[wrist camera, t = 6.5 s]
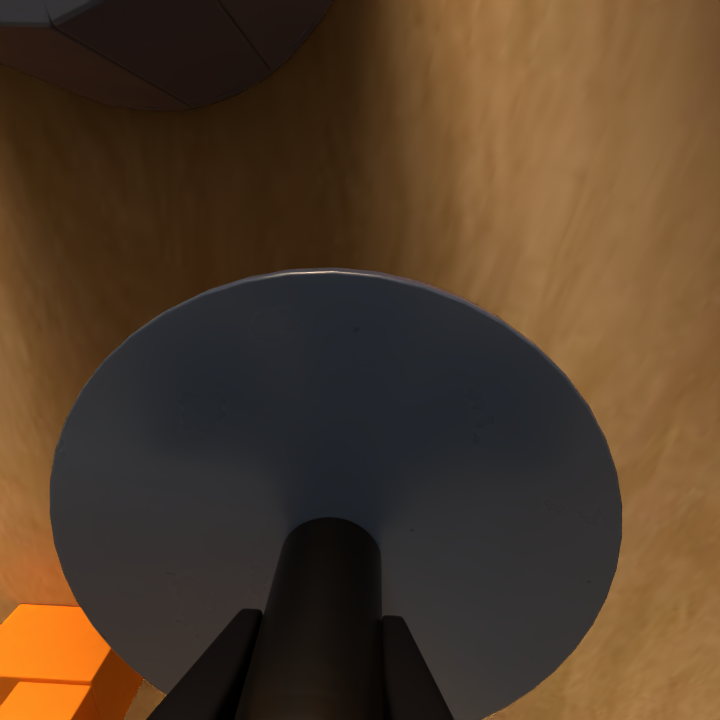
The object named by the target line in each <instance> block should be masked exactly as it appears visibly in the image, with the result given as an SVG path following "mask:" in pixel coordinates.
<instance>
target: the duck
mask: <svg viewBox="0 0 720 720" xmlns="http://www.w3.org/2000/svg"><path fill="white" fill-rule="evenodd" d="M143 679H144V678H143V677H142V676H140V675H139V674H138V673H137V672H135V671H134V670H133V669H132V668H131V667H130V666H129V665H128V664H127V663H126V662H125V661H124V660H122V659H121V658H120V657H119V656H118V655H117V654H116V653H115V652H114V651H113V650H112V649H111V648H110V646H109V645H108V644H107V643H106V642H105V640H104V639H103V638H102V637H101V636H100V634H99V633H98V632H97V631H96V630H95V628H94V627H93V626H92V624H91V623H90V621H89V620H88V618H87V616H86V615H85V613H84V612H83V610H82V609H81V607H69V606H49V605H30V604H20V605H19V606H18V607H17V608H16V609H15V610H14V611H13V612H12V614H11V615H10V616H9V617H8V618H7V619H6V620H5V621H4V622H3V623H2V624H1V626H0V720H123V719H124V717H125V715H126V713H127V711H128V709H129V707H130V705H131V703H132V701H133V699H134V697H135V695H136V693H137V691H138V689H139V687H140V685H141V683H142V681H143Z"/></svg>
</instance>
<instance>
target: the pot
mask: <svg viewBox="0 0 720 720" xmlns="http://www.w3.org/2000/svg"><path fill="white" fill-rule="evenodd" d="M332 1H333V0H0V64H3V65H5V66H8V67H10V68H13V69H15V70H18V71H20V72H23V73H25V74H28V75H31V76H33V77H36V78H38V79H41V80H43V81H46V82H48V83H51V84H53V85H56V86H58V87H61V88H63V89H66V90H68V91H71V92H73V93H76V94H78V95H81V96H83V97H86V98H88V99H91V100H93V101H96V102H98V103H101V104H103V105H106V106H113V107H127V108H131V109H141V110H152V111H171V110H186V109H191V108H196V107H201V106H205V105H210V104H213V103H216V102H219V101H221V100H224V99H227V98H229V97H232V96H235V95H237V94H239V93H241V92H242V91H244V90H246V89H248V88H250V87H251V86H253V85H255V84H257V83H258V82H260V81H262V80H263V79H264V78H266V77H267V76H268V75H269V74H271V73H272V72H273V71H275V70H276V69H277V68H278V67H280V66H281V65H282V64H284V63H285V62H286V61H287V60H288V59H289V57H290V56H291V55H292V54H293V53H294V52H295V51H296V50H297V49H298V48H299V47H300V46H301V45H302V44H303V43H304V42H305V41H306V39H307V38H308V37H309V35H310V34H311V33H312V31H313V30H314V29H315V27H316V26H317V25H318V23H319V22H320V21H321V19H322V18H323V16H324V15H325V13H326V11H327V9H328V8H329V6H330V4H331V2H332Z"/></svg>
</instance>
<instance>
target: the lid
mask: <svg viewBox="0 0 720 720" xmlns="http://www.w3.org/2000/svg"><path fill="white" fill-rule="evenodd" d="M50 519H51V525H52V532H53V538H54V544H55V548H56V551H57V554H58V557H59V560H60V564H61V567H62V570H63V573H64V575H65V578H66V580H67V582H68V584H69V586H70V588H71V590H72V592H73V595H74V597H75V599H76V601H77V602H78V604H79V606H80V607H81V609H82V610H83V612H84V613H85V615H86V616H87V618H88V620H89V621H90V623H91V624H92V626H93V627H94V628H95V630H96V631H97V632H98V633H99V634H100V636H101V637H102V638H103V639H104V640H105V642H106V643H107V644H108V645H109V646H110V648H111V649H112V650H113V651H114V652H115V653H116V654H117V655H118V656H119V657H120V658H121V659H122V660H124V661H125V662H126V663H127V664H128V665H129V666H130V667H131V668H132V669H133V670H134V671H135V672H137V673H138V674H139V675H140V676H142V677H143V678H144V679H146V680H147V681H148V682H149V683H151V684H152V685H153V686H155V687H156V688H157V689H159V690H160V691H162V692H163V693H165V694H167V695H168V693H169V692H170V691H171V690H172V689H173V688H174V686H175V685H176V684H177V683H178V682H179V681H180V680H181V678H182V677H183V676H184V675H185V674H186V673H187V671H188V670H189V669H190V668H191V667H192V666H193V664H194V663H195V662H196V661H197V660H198V659H199V657H200V656H201V655H202V654H203V653H204V652H205V650H206V649H207V648H208V647H209V646H210V645H211V644H212V642H213V641H214V640H215V639H216V638H217V637H218V635H219V634H220V633H221V632H222V631H223V630H224V628H225V627H226V626H227V625H228V624H229V623H230V621H231V620H232V619H233V618H234V617H235V616H236V614H237V613H238V612H239V611H240V610H242V609H245V608H247V609H260V610H261V611H262V613H263V618H262V621H261V625H260V628H259V632H258V635H257V639H256V643H255V646H254V650H253V653H252V657H251V661H250V664H249V668H248V671H247V675H246V679H245V682H244V686H243V689H242V693H241V697H240V700H239V704H238V707H237V711H236V714H235V718H234V720H384V706H383V685H382V617H383V616H384V615H393V616H401V617H403V619H404V620H405V622H406V624H407V626H408V628H409V630H410V632H411V634H412V636H413V638H414V640H415V642H416V644H417V646H418V648H419V650H420V652H421V654H422V656H423V658H424V660H425V662H426V664H427V666H428V668H429V670H430V672H431V674H432V676H433V678H434V680H435V682H436V684H437V686H438V688H439V690H440V692H441V694H442V696H443V698H444V700H445V702H446V704H447V706H448V708H449V710H450V712H451V714H452V716H453V718H454V720H481V719H483V718H485V717H487V716H489V715H491V714H493V713H495V712H497V711H499V710H501V709H503V708H505V707H507V706H508V705H510V704H512V703H513V702H515V701H516V700H518V699H519V698H521V697H522V696H524V695H525V694H527V693H528V692H530V691H531V690H533V689H534V688H535V687H536V686H537V685H539V684H540V683H541V682H542V681H543V680H545V679H546V678H547V677H548V676H549V675H551V674H552V673H553V672H554V671H555V670H556V669H557V668H558V667H559V666H560V665H561V664H562V663H563V662H564V661H565V660H566V659H567V657H568V656H569V655H570V654H571V653H572V652H573V651H574V650H575V649H576V647H577V646H578V645H579V643H580V642H581V640H582V639H583V638H584V636H585V635H586V633H587V632H588V631H589V629H590V628H591V626H592V625H593V623H594V621H595V619H596V617H597V615H598V613H599V612H600V610H601V608H602V606H603V604H604V602H605V600H606V598H607V595H608V592H609V589H610V586H611V583H612V580H613V577H614V575H615V572H616V568H617V563H618V557H619V551H620V545H621V539H622V502H621V496H620V489H619V483H618V477H617V471H616V468H615V465H614V462H613V459H612V456H611V453H610V450H609V447H608V443H607V440H606V438H605V436H604V434H603V432H602V430H601V428H600V426H599V424H598V422H597V420H596V418H595V417H594V415H593V413H592V411H591V409H590V407H589V405H588V404H587V403H586V401H585V400H584V399H583V397H582V396H581V394H580V393H579V392H578V390H577V389H576V388H575V386H574V385H573V384H572V382H571V381H570V380H569V378H568V377H567V376H566V374H565V373H564V372H563V371H562V370H561V369H560V368H559V367H558V366H557V365H556V364H555V363H554V362H553V361H552V360H551V359H550V358H549V357H548V356H547V355H546V354H545V353H544V352H543V351H542V350H541V349H540V348H539V347H537V346H536V345H535V344H534V343H533V342H531V341H530V340H529V339H528V338H526V337H525V336H523V335H522V334H521V333H519V332H518V331H517V330H515V329H514V328H513V327H511V326H510V325H509V324H507V323H506V322H505V321H503V320H502V319H501V318H499V317H498V316H496V315H494V314H492V313H491V312H489V311H487V310H485V309H483V308H481V307H479V306H478V305H476V304H474V303H472V302H470V301H468V300H467V299H465V298H463V297H461V296H458V295H456V294H453V293H450V292H448V291H445V290H443V289H440V288H437V287H435V286H432V285H429V284H427V283H424V282H421V281H417V280H413V279H409V278H404V277H400V276H396V275H391V274H387V273H383V272H378V271H368V270H357V269H347V268H336V267H332V268H306V269H289V270H283V271H278V272H272V273H266V274H260V275H255V276H249V277H246V278H243V279H240V280H237V281H234V282H231V283H227V284H224V285H221V286H218V287H215V288H212V289H209V290H207V291H205V292H203V293H201V294H199V295H197V296H195V297H193V298H190V299H188V300H186V301H184V302H182V303H180V304H178V305H176V306H174V307H172V308H170V309H168V310H166V311H164V312H163V313H161V314H160V315H158V316H157V317H155V318H154V319H152V320H151V321H150V322H148V323H147V324H145V325H144V326H142V327H141V328H139V329H138V330H136V331H135V332H133V333H132V334H131V335H130V336H129V337H128V338H127V339H126V340H125V341H124V342H123V343H121V344H120V345H119V346H118V347H117V348H116V349H115V350H114V351H113V352H112V353H111V354H110V355H109V356H108V357H107V358H105V359H104V361H103V362H102V363H101V365H100V366H99V367H98V369H97V370H96V371H95V372H94V374H93V375H92V376H91V378H90V379H89V380H88V382H87V383H86V384H85V385H84V387H83V388H82V390H81V392H80V394H79V396H78V397H77V399H76V401H75V403H74V405H73V407H72V409H71V410H70V412H69V414H68V416H67V418H66V420H65V423H64V426H63V429H62V432H61V435H60V438H59V441H58V444H57V447H56V450H55V454H54V460H53V466H52V472H51V479H50Z"/></svg>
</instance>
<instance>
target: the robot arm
mask: <svg viewBox="0 0 720 720" xmlns="http://www.w3.org/2000/svg"><path fill="white" fill-rule="evenodd" d="M262 618H263V613H262V611H261V610H260V609H247V608H245V609H242V610H240V611H239V612H238V613H237V614H236V616H235V617H234V618H233V619H232V620H231V621H230V623H229V624H228V625H227V626H226V627H225V628H224V630H223V631H222V632H221V633H220V634H219V635H218V637H217V638H216V639H215V640H214V641H213V642H212V644H211V645H210V646H209V647H208V648H207V649H206V650H205V652H204V653H203V654H202V655H201V656H200V657H199V659H198V660H197V661H196V662H195V663H194V664H193V666H192V667H191V668H190V669H189V670H188V671H187V673H186V674H185V675H184V676H183V677H182V678H181V680H180V681H179V682H178V683H177V684H176V685H175V686H174V688H173V689H172V690H171V691H170V692H169V693H168V695H167V696H166V697H165V698H164V699H163V700H162V702H161V703H160V704H159V705H158V706H157V707H156V709H155V710H154V711H153V712H152V713H151V714H150V716H149V717H148V718H147V719H146V720H234V718H235V714H236V711H237V707H238V704H239V700H240V697H241V693H242V689H243V686H244V682H245V679H246V675H247V671H248V668H249V664H250V661H251V657H252V653H253V650H254V646H255V643H256V639H257V635H258V632H259V628H260V625H261V621H262ZM382 685H383V706H384V720H454V718H453V716H452V714H451V712H450V710H449V708H448V706H447V704H446V702H445V700H444V698H443V696H442V694H441V692H440V690H439V688H438V686H437V684H436V682H435V680H434V678H433V676H432V674H431V672H430V670H429V668H428V666H427V664H426V662H425V660H424V658H423V656H422V654H421V652H420V650H419V648H418V646H417V644H416V642H415V640H414V638H413V636H412V634H411V632H410V630H409V628H408V626H407V624H406V622H405V620H404V619H403V617H401V616H393V615H384V616H383V617H382Z"/></svg>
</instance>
